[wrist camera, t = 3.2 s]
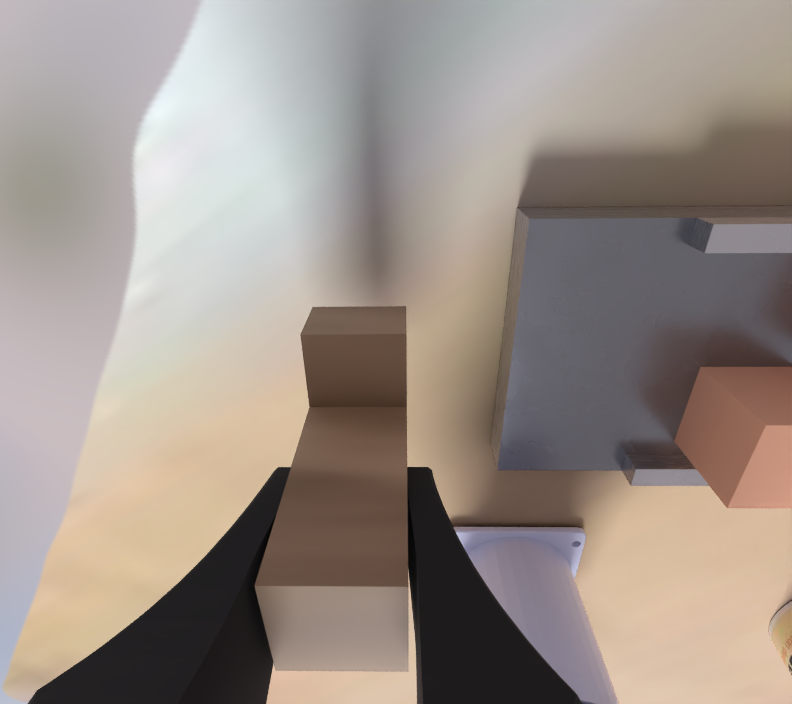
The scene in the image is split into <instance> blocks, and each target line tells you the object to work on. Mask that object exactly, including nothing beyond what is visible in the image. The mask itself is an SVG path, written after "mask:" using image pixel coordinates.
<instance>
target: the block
mask: <svg viewBox="0 0 792 704" xmlns="http://www.w3.org/2000/svg"><path fill="white" fill-rule="evenodd" d="M674 442H675V443H676V444H677V446H678V447H679V448H680V449H681V451H682V452H683V453H684V454H685V456H686V457H687V458H688V459H689V461H690V462H691V463H692V464H693V466H694V467H695V468H696V469H697V471H698V472H699V473H700V474H701V476H702V477H703V478H704V479H705V481H706V482H707V483H708V484H709V486H710V487H711V488H712V490H713V491H714V492H715V493H716V495H717V496H718V497H719V498H720V500H721V501H722V502H723V503H724V505H725V506H726V507H727V508H792V367H700V370H699V373H698V375H697V378H696V381H695V384H694V387H693V389H692V392H691V395H690V398H689V401H688V404H687V406H686V409H685V412H684V415H683V418H682V420H681V423H680V426H679V429H678V432H677V434H676V437H675V440H674Z"/></svg>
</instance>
